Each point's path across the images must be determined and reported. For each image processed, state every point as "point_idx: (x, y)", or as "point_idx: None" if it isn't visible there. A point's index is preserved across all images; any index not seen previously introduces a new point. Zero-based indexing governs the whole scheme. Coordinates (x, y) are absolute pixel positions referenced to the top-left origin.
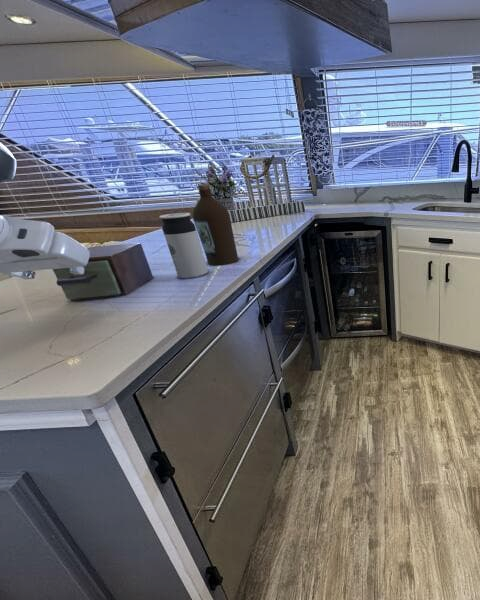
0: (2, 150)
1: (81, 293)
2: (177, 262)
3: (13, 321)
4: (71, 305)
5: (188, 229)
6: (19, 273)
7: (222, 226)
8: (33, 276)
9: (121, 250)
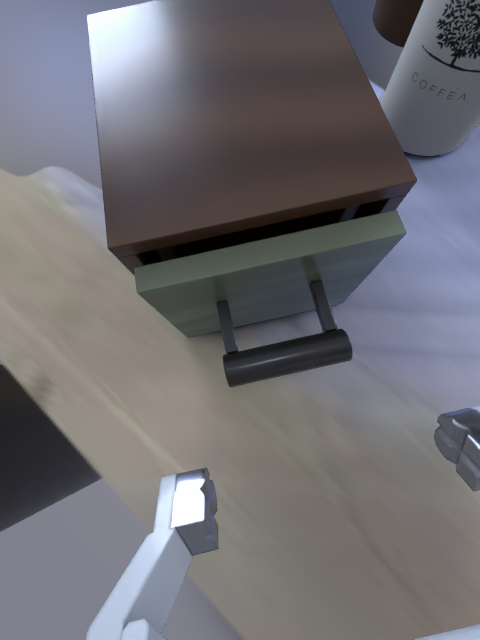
0: None
1: (233, 322)
2: (458, 97)
3: (136, 489)
4: (219, 362)
5: None
6: (180, 566)
7: None
8: (214, 491)
9: (361, 82)
